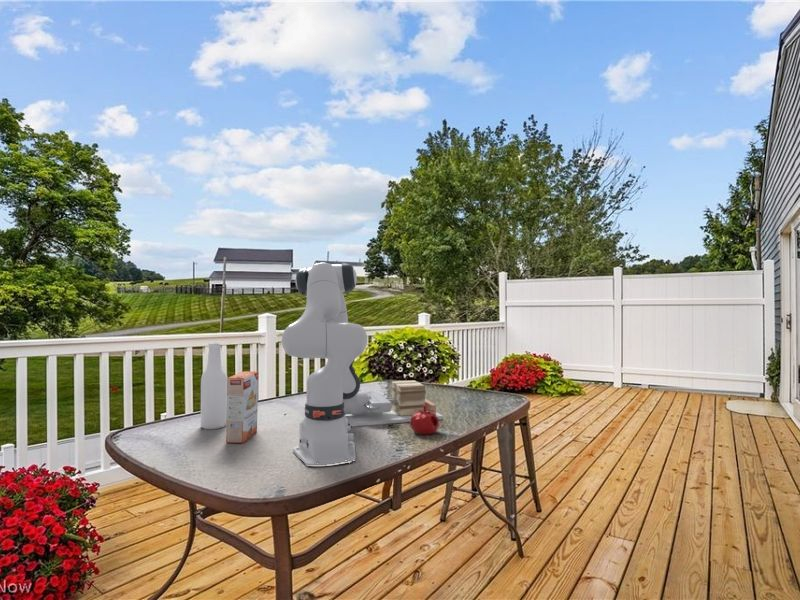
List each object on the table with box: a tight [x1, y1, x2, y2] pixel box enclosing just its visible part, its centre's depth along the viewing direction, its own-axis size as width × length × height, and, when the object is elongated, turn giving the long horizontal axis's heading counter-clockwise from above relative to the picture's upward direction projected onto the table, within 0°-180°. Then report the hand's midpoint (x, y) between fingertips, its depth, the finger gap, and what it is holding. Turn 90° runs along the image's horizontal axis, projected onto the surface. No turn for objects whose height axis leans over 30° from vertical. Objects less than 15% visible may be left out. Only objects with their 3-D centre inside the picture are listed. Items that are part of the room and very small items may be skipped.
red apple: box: [409, 405, 440, 435], centre depth 159 cm, size 10×10×9 cm
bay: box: [344, 398, 444, 427], centre depth 180 cm, size 20×36×5 cm, turn 108°
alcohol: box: [200, 341, 228, 430], centre depth 164 cm, size 9×9×30 cm
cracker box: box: [225, 371, 259, 444], centre depth 152 cm, size 14×6×21 cm, turn 179°
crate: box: [390, 380, 427, 416], centre depth 182 cm, size 12×10×11 cm
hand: (395, 400), depth 181 cm, fingers closed, pressing on crate
